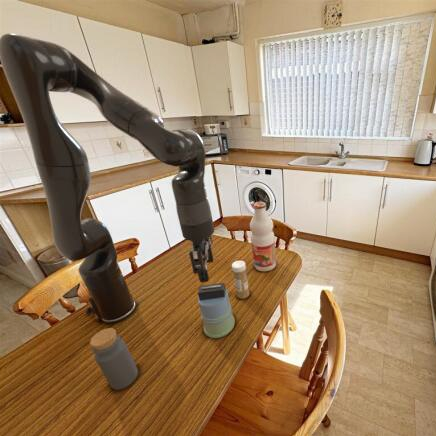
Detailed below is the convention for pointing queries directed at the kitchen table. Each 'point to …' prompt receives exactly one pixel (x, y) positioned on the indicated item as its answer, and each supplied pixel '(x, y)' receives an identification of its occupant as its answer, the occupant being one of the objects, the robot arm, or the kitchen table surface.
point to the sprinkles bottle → (240, 279)
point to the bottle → (114, 358)
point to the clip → (211, 291)
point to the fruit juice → (262, 238)
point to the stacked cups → (217, 316)
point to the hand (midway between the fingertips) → (207, 270)
